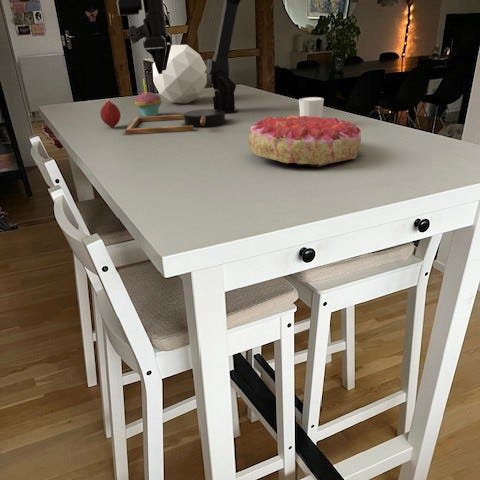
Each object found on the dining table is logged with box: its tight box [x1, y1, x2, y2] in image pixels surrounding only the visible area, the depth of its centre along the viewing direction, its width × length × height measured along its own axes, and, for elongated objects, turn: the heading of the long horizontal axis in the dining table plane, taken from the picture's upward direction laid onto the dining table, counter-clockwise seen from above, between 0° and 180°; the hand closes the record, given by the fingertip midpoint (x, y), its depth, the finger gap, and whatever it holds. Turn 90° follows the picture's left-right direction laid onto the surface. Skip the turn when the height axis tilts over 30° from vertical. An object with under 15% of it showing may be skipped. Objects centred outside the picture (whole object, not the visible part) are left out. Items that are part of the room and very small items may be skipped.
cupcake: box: [134, 76, 162, 117], centre depth 167 cm, size 9×8×12 cm
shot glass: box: [298, 96, 325, 118], centre depth 142 cm, size 7×7×7 cm
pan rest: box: [125, 114, 195, 135], centre depth 155 cm, size 19×19×1 cm
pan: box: [183, 108, 226, 128], centre depth 151 cm, size 12×20×3 cm, turn 1°
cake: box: [247, 115, 362, 168], centre depth 115 cm, size 25×25×8 cm
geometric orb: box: [152, 44, 207, 105], centre depth 186 cm, size 19×20×20 cm
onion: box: [99, 98, 121, 129], centre depth 154 cm, size 6×6×8 cm
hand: (162, 72), depth 159 cm, fingers open, 9 cm apart
